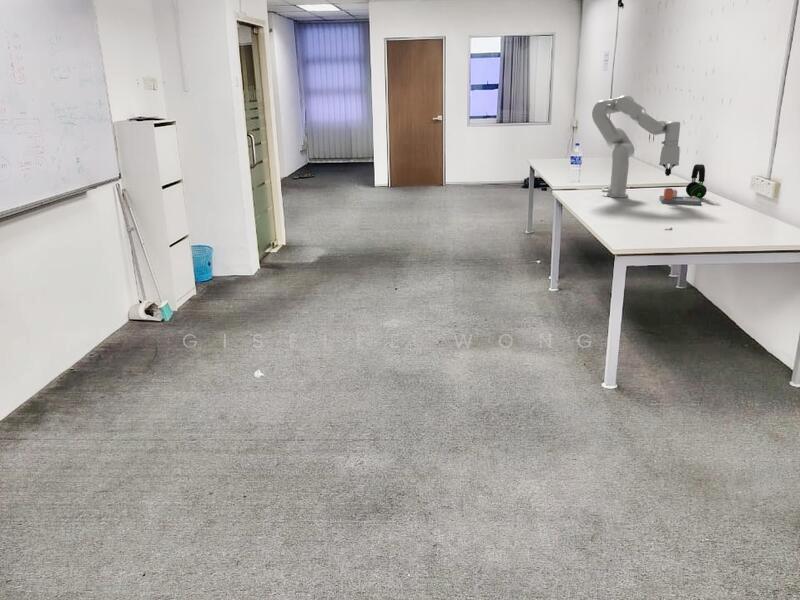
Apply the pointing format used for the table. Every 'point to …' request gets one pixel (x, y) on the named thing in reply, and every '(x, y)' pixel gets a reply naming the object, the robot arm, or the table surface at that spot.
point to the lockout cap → (668, 194)
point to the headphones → (695, 187)
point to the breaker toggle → (675, 193)
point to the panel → (682, 200)
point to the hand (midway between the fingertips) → (667, 175)
